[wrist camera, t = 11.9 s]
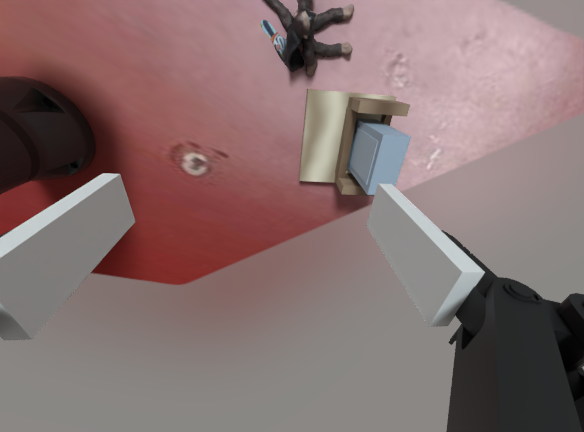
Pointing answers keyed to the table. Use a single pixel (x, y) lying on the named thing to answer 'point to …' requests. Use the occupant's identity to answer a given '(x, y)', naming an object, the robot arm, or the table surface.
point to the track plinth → (339, 133)
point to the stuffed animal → (305, 34)
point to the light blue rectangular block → (376, 154)
